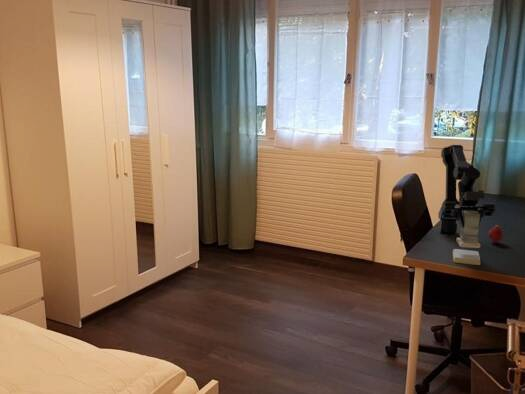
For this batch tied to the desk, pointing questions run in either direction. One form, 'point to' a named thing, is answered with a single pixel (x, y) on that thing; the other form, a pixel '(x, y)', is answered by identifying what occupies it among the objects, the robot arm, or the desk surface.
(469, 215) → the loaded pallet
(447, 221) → the robot arm
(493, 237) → the onion
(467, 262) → the plate
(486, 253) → the desk surface
